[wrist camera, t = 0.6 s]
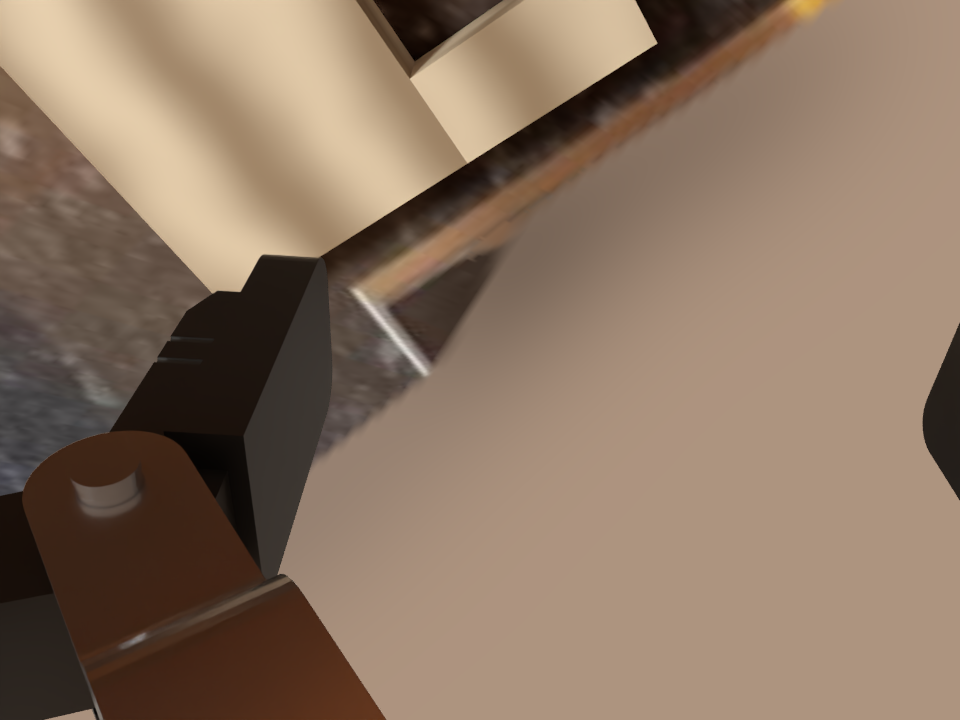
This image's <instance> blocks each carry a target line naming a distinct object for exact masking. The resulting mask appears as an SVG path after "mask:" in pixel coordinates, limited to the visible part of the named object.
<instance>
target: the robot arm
mask: <svg viewBox="0 0 960 720" xmlns="http://www.w3.org/2000/svg"><path fill="white" fill-rule="evenodd" d="M331 386H332V351H331V333H330V315H329V297H328V280H327V270H326V265H325V261H324V259H323V258H317V257H301V256H285V255H269V254H263V255H261V256H260V258H259V259H258V261H257V263H256V265H255V267H254V268H253V270H252V272H251V274H250V276H249V277H248V279H247V281H246V283H245V285H244V286H243V288H242V290H241V292H233V291H216V292H215V293H213V294H212V295H210V296H209V297H207V298H206V299H204V300H203V301H201V302H200V303H198V304H197V305H195V306H194V307H192V308H191V309H189V310H188V311H186V313H185V315H184V316H183V318H182V319H181V321H180V322H179V324H178V326H177V327H176V329H175V330H174V332H173V333H172V335H171V341H167V343H166V344H165V346H164V348H163V349H162V351H161V352H160V354H159V355H158V361H157V362H154V363H153V365H152V366H151V368H150V369H149V371H148V373H147V374H146V376H145V377H144V379H143V380H142V382H141V384H140V385H139V387H138V388H137V390H136V391H135V393H134V394H133V396H132V398H131V399H130V401H129V402H128V404H127V405H126V407H125V409H124V410H123V412H122V413H121V415H120V416H119V418H118V420H117V421H116V423H115V424H114V426H113V427H112V429H111V431H110V432H109V433H103V434H98V435H95V436H91V437H87V438H85V439H82V440H79V441H76V442H74V443H72V444H70V445H68V446H66V447H64V448H62V449H60V450H58V451H57V452H55V453H54V454H52V455H51V456H49V457H48V458H47V459H46V460H44V461H43V462H42V463H41V464H40V465H39V466H38V467H37V468H36V469H35V470H34V471H33V472H32V474H31V475H30V477H29V478H28V480H27V482H26V484H25V487H24V489H23V491H21V492H17V493H12V494H7V495H2V496H0V720H45V719H49V718H53V717H58V716H62V715H66V714H71V713H75V712H80V711H84V710H88V709H92V711H93V714H94V717H95V719H96V720H386V718H385V717H384V716H383V714H382V712H381V711H380V709H379V708H378V706H377V705H376V703H375V702H374V700H373V699H372V697H371V696H370V694H369V693H368V691H367V690H366V688H365V687H364V685H363V684H362V682H361V681H360V679H359V678H358V676H357V675H356V673H355V672H354V670H353V669H352V667H351V666H350V664H349V662H348V661H347V660H346V658H345V656H344V655H343V653H342V652H341V650H340V649H339V647H338V646H337V645H336V643H335V641H334V640H333V639H332V637H331V635H330V634H329V632H328V631H327V629H326V628H325V626H324V625H323V623H322V622H321V620H320V619H319V617H318V616H317V614H316V613H315V611H314V610H313V608H312V607H311V605H310V604H309V602H308V601H307V599H306V598H305V596H304V594H303V593H302V592H301V590H300V589H299V587H298V586H297V585H296V584H295V583H294V582H293V580H291V579H290V578H289V577H288V576H286V575H284V574H279V575H277V574H278V571H279V568H280V564H281V561H282V558H283V555H284V551H285V548H286V545H287V542H288V538H289V535H290V532H291V528H292V525H293V522H294V519H295V515H296V512H297V509H298V506H299V502H300V499H301V496H302V493H303V489H304V486H305V483H306V480H307V476H308V473H309V470H310V467H311V463H312V460H313V457H314V454H315V450H316V447H317V444H318V441H319V437H320V434H321V431H322V428H323V424H324V421H325V418H326V414H327V411H328V407H329V402H330V395H331ZM923 434H924V439H925V443H926V445H927V448H928V450H929V452H930V454H931V455H932V457H933V458H934V460H935V462H936V463H937V465H938V466H939V468H940V470H941V471H942V472H943V474H944V476H945V478H946V479H947V481H948V482H949V484H950V485H951V487H952V489H953V490H954V492H955V493H956V495H957V497H958V498H959V500H960V324H959V326H958V328H957V331H956V333H955V335H954V338H953V340H952V342H951V345H950V347H949V349H948V352H947V354H946V356H945V359H944V361H943V363H942V366H941V368H940V370H939V373H938V375H937V378H936V380H935V382H934V384H933V387H932V389H931V391H930V394H929V396H928V399H927V401H926V404H925V408H924V413H923Z"/></svg>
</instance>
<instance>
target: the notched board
mask: <svg viewBox="0 0 960 720" xmlns="http://www.w3.org/2000/svg"><path fill="white" fill-rule="evenodd" d="M656 44H657V41H656V40H655V38H654V36H653V34H652V32H651V30H650V28H649V26H648V24H647V22H646V20H645V18H644V16H643V14H642V13H641V11H640V9H639V7H638V5H637V3H636V1H635V0H503V1H502V2H500V3H499V4H497V5H496V6H494V7H493V8H491V9H490V10H489V11H487V12H486V13H484V14H483V15H481V16H480V17H478V18H477V19H476V20H474V21H473V22H471V23H470V24H468V25H467V26H465V27H464V28H463V29H461V30H460V31H458V32H457V33H455V34H454V35H452V36H451V37H450V38H448V39H447V40H445V41H444V42H442V43H441V44H439V45H438V46H437V47H435V48H434V49H432V50H431V51H429V52H428V53H426V54H425V55H424V56H422V57H421V58H419V59H418V60H416V61H414V60H413V58H412V57H411V55H410V54H409V52H408V51H407V49H406V48H405V46H404V45H403V43H402V42H401V41H400V39H399V38H398V36H397V35H396V33H395V32H394V30H393V29H392V27H391V26H390V24H389V23H388V21H387V20H386V18H385V17H384V15H383V14H382V12H381V11H380V9H379V8H378V6H377V5H376V3H375V2H374V1H373V0H0V66H1V67H2V68H3V69H4V70H5V71H6V72H7V73H8V75H9V76H10V77H11V78H12V79H13V80H14V81H15V82H16V83H17V84H18V85H19V86H20V87H21V88H22V90H23V91H24V92H25V93H26V94H27V95H28V96H29V97H30V98H31V99H32V100H33V101H34V102H35V103H36V105H37V106H38V107H39V108H40V109H41V110H42V111H43V112H44V113H45V114H46V115H47V116H48V117H49V118H50V120H51V121H52V122H53V123H54V124H55V125H56V126H57V127H58V128H59V129H60V130H61V131H62V132H63V133H64V135H65V136H66V137H67V138H68V139H69V140H70V141H71V142H72V143H73V144H74V145H75V146H76V147H77V148H78V150H79V151H80V152H81V153H82V154H83V155H84V156H85V157H86V158H87V159H88V160H89V161H90V162H91V163H92V165H93V166H94V167H95V168H96V169H97V170H98V171H99V172H100V173H101V174H102V175H103V176H104V177H105V178H106V180H107V181H108V182H109V183H110V184H111V185H112V186H113V187H114V188H115V189H116V190H117V191H118V192H119V193H120V195H121V196H122V197H123V198H124V199H125V200H126V201H127V202H128V203H129V204H130V205H131V206H132V207H133V209H134V210H135V211H136V212H137V213H138V214H139V215H140V216H141V217H142V218H143V219H144V220H145V221H146V222H147V224H148V225H149V226H150V227H151V228H152V229H153V230H154V231H155V232H156V233H157V234H158V235H159V236H160V237H161V239H162V240H163V241H164V242H165V243H166V244H167V245H168V246H169V247H170V248H171V249H172V250H173V251H174V252H175V254H176V255H177V256H178V257H179V258H180V259H181V260H182V261H183V262H184V263H185V264H186V265H187V266H188V267H189V269H190V270H191V271H192V272H193V273H194V274H195V275H196V276H197V277H198V278H199V279H200V280H201V281H202V282H203V284H204V285H205V286H206V287H207V288H208V289H209V290H210V291H211V292H212V293H215V292H216V291H233V292H241V290H242V288H243V286H244V285H245V283H246V281H247V279H248V277H249V276H250V274H251V272H252V270H253V268H254V267H255V265H256V263H257V261H258V259H259V258H260V256H261V255H263V254H269V255H285V256H301V257H317V258H319V257H320V256H322V255H323V254H325V253H327V252H328V251H330V250H331V249H333V248H335V247H336V246H338V245H339V244H341V243H342V242H344V241H346V240H347V239H349V238H350V237H352V236H354V235H355V234H357V233H358V232H360V231H361V230H363V229H365V228H366V227H368V226H369V225H371V224H372V223H374V222H376V221H377V220H379V219H380V218H382V217H384V216H385V215H387V214H388V213H390V212H391V211H393V210H395V209H396V208H398V207H399V206H401V205H403V204H404V203H406V202H407V201H409V200H410V199H412V198H414V197H415V196H417V195H418V194H420V193H422V192H423V191H425V190H426V189H428V188H429V187H431V186H433V185H434V184H436V183H437V182H439V181H440V180H442V179H444V178H445V177H447V176H448V175H450V174H452V173H453V172H455V171H456V170H458V169H459V168H461V167H463V166H464V165H466V164H467V163H469V162H471V161H472V160H474V159H475V158H477V157H478V156H480V155H482V154H483V153H485V152H486V151H488V150H489V149H491V148H493V147H494V146H496V145H497V144H499V143H501V142H502V141H504V140H505V139H507V138H508V137H510V136H512V135H513V134H515V133H516V132H518V131H520V130H521V129H523V128H524V127H526V126H527V125H529V124H531V123H532V122H534V121H535V120H537V119H539V118H540V117H542V116H543V115H545V114H546V113H548V112H550V111H551V110H553V109H554V108H556V107H557V106H559V105H561V104H562V103H564V102H565V101H567V100H569V99H570V98H572V97H573V96H575V95H576V94H578V93H580V92H581V91H583V90H584V89H586V88H588V87H589V86H591V85H592V84H594V83H595V82H597V81H599V80H600V79H602V78H603V77H605V76H607V75H608V74H610V73H611V72H613V71H614V70H616V69H618V68H619V67H621V66H622V65H624V64H625V63H627V62H629V61H630V60H632V59H633V58H635V57H637V56H638V55H640V54H641V53H643V52H644V51H646V50H648V49H649V48H651V47H652V46H654V45H656Z"/></svg>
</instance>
